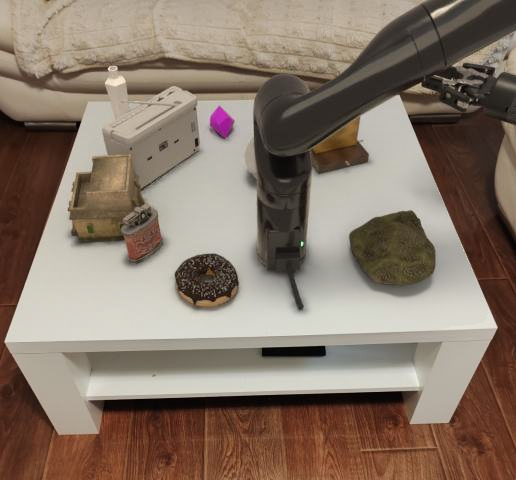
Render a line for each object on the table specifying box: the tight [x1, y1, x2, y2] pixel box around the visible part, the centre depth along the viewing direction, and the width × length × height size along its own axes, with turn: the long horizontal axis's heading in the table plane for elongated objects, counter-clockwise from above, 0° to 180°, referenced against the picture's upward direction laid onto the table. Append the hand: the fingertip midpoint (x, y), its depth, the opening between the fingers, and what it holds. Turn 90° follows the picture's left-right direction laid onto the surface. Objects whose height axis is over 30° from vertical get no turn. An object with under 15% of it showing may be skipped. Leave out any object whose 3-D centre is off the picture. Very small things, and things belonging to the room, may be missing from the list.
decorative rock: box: [348, 209, 437, 286], centre depth 103 cm, size 15×16×10 cm
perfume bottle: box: [104, 65, 131, 119], centre depth 128 cm, size 5×4×15 cm
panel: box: [310, 139, 370, 174], centre depth 127 cm, size 14×14×2 cm
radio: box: [101, 85, 201, 190], centre depth 118 cm, size 21×8×20 cm, turn 141°
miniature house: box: [67, 154, 147, 244], centre depth 110 cm, size 15×14×11 cm
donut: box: [174, 252, 240, 308], centre depth 102 cm, size 11×12×4 cm
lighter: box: [121, 202, 164, 265], centre depth 105 cm, size 8×3×10 cm, turn 141°
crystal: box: [209, 105, 235, 139], centre depth 132 cm, size 5×5×5 cm
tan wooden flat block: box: [313, 116, 362, 154], centre depth 123 cm, size 10×2×7 cm, turn 111°
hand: (429, 74), depth 106 cm, fingers open, 4 cm apart
